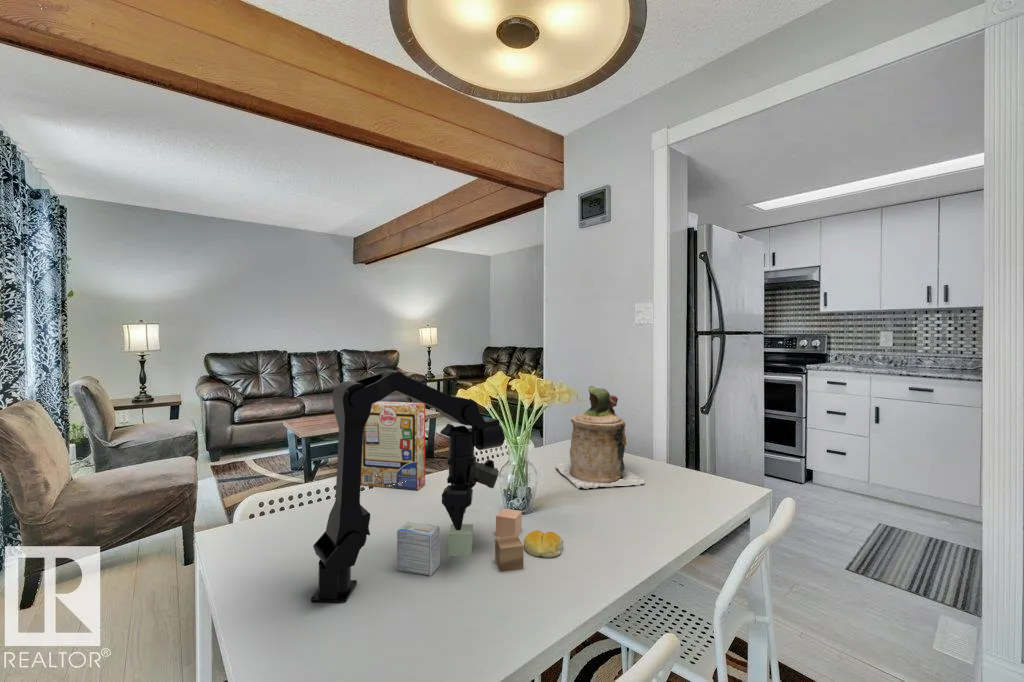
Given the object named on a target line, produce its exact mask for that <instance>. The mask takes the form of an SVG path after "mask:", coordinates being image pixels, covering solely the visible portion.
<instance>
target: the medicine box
mask: <svg viewBox="0 0 1024 682" xmlns="http://www.w3.org/2000/svg"><path fill="white" fill-rule="evenodd" d="M440 533H441V532H440V526H439V525H433V524H426V523H417V522H410V521H407V522H406V523H404V524H403V525H402V526H401V527H400V528H399V529H397V531H396V570H397V571H399V572H400V571H401V572H406V573H407V572H408V573H413V574H418V575H427V576H430V577H431V576H432V575H433V574H434V572H435V571H436V570H438V568H439V567H440V564H441V563H440V562H441V560H440V555H441V550H440V543H441V542H440V540H441V539H440V535H441V534H440Z"/></svg>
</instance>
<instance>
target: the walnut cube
mask: <svg viewBox="0 0 1024 682" xmlns="http://www.w3.org/2000/svg"><path fill="white" fill-rule="evenodd" d="M524 551H525V548H524V543H523V542H522V540H521V539H520V538H519V535H518V536H517V535H515V536H506V537H500V536H496V537H494V562H495V563H496V566H497V568H498V570H499V572H501V573H502V572H509V571H519V570H524Z"/></svg>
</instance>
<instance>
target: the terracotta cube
mask: <svg viewBox="0 0 1024 682" xmlns="http://www.w3.org/2000/svg"><path fill="white" fill-rule="evenodd" d="M522 512H523V511H522V510H516V509H509V508H502V509H501V510H500V511H499V512H498V513H497V514H496V515H495V536H496V537H506V536H515V535H517V536H518V537H519V534H520V533H521V532H522V529H523V528H522V526H523V525H522V523H523V521H522V520H523V519H522V517H523V516H522V515H523V514H522Z"/></svg>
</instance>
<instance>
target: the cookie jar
mask: <svg viewBox="0 0 1024 682" xmlns="http://www.w3.org/2000/svg"><path fill="white" fill-rule="evenodd" d="M588 392H589V397H588V398H589V402H590V408H588V409H587V410H586V411H585V412H583V413H581V414H576V415H574V416H572V417H571V418H570V422H571V423H572V433H571V440H570V447H569V457H570V459H569V460H570V462H554V466H555V469H556V468H557V469H558V470H557V471H558V472H560V474H562V475H563V476H564V477H565V478H566V479H567V480H568V481H569V482H570V483H572V484H573V485H574V486H575V487H576V488H579V489H580V488H582V489H586V490H590V489H589V488H593V489H598V488H599V487H612V486H624V485H619V484H616V483H612V482H616V481H618V480H619V479H623V480H626V481H629V482H631V483H634V484H643V485H644V484H645V479H644V478H642V477H641V476H639V475H637V474H635V473H634V472H632V471H631V470H629V469H626V468H625V463H624V457H625V456H624V455H625V451H626V446H627V438H626V434H625V433H626V432H625V431H626V425H627V424H626V422H625V420H624V419H623V418H621V417H620V416H619V415H618V414H616V411H615V409H614V407H617V404H618V400H619V398H618V396H616V395H613V394H610V392H609V391H608V390H607V389H606V388H599V387H598V388H597V387H595V386H593V385H589V387H588ZM612 488H613V487H612Z"/></svg>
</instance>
